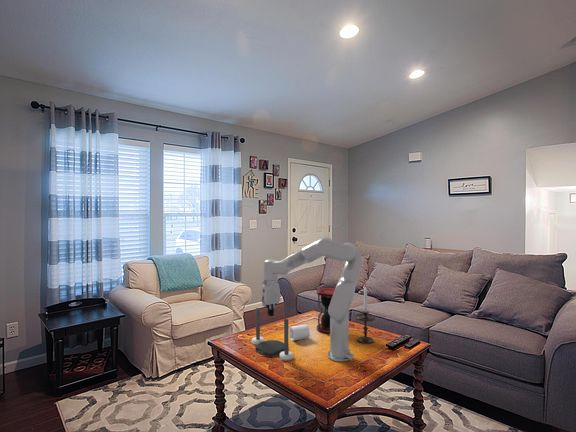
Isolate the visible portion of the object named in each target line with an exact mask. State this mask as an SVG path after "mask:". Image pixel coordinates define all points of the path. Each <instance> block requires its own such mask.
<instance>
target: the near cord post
mask: <svg viewBox="0 0 576 432" xmlns="http://www.w3.org/2000/svg"><path fill="white" fill-rule="evenodd" d="M283 336H284V337H283V343H284V351H283V352H281V353H280V354H279V359H280V360H281V361H285V362H289V361H291V360H293V359H294V353H293V352H292V351H289V348H290V347H289V319H288V318H285V319H283Z"/></svg>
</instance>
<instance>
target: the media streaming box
mask: <svg viewBox="0 0 576 432" xmlns="http://www.w3.org/2000/svg"><path fill="white" fill-rule="evenodd" d="M255 351H256V352H257V353H259V354H261V355H262V356H265V357H269V358H271V357H275V356H280V353H281V352H283V351H284V341H283V342H282V341H280V340H277V339H276V340H275V339H268V340H264V342H261V343H259V344H257V345H255Z"/></svg>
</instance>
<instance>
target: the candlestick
mask: <svg viewBox="0 0 576 432" xmlns="http://www.w3.org/2000/svg"><path fill="white" fill-rule="evenodd" d="M363 283H364V288H363V310H362V311H361V312H362V313H357V314H356V315H355V319H356V320H358V321H361V322H363V323H364V324H363V327H362V329H363V336H362V335H361V336H358V337H357V342H358V343H360V344H362V345H363V344H365V345H370V344H373V343H374V338H373V337H371V336H368V335H367V334H368V332H369V331H368V329H369V327H367V326H368V325H367V322H373V321H375V320H376V316H375V315H373V314H371V313H369V312H370V311H368V289H367V284H366V282H365V281H363Z"/></svg>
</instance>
